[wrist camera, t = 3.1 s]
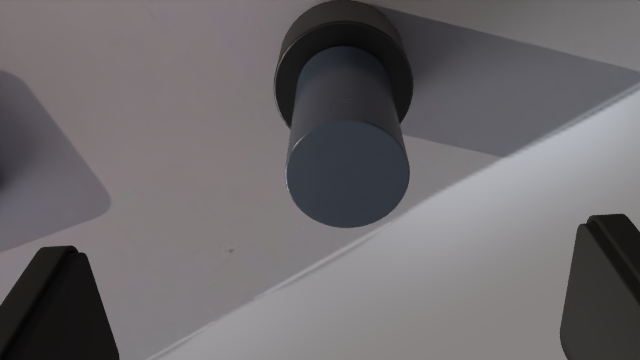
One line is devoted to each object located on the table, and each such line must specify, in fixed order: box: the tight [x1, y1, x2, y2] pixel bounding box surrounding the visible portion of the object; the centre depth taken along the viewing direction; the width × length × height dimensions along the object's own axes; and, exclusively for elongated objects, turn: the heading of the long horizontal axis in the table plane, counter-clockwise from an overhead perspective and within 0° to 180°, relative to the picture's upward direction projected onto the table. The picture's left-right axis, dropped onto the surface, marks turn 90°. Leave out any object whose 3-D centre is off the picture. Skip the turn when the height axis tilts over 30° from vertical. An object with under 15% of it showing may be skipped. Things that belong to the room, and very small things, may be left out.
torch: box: [274, 0, 413, 228], centre depth 19 cm, size 5×5×9 cm
